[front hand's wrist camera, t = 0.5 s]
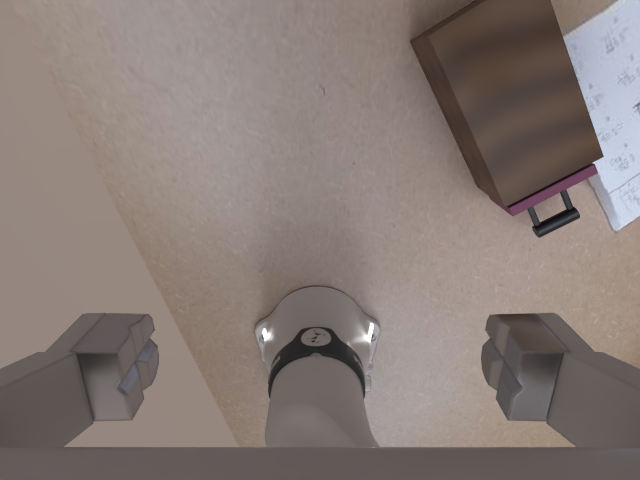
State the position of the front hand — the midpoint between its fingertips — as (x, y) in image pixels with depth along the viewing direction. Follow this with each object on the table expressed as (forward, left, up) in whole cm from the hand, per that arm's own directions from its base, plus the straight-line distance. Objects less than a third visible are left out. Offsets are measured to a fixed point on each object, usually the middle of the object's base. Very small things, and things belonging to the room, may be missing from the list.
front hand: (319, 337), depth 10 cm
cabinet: (+3, -21, -47) cm, 51 cm away
